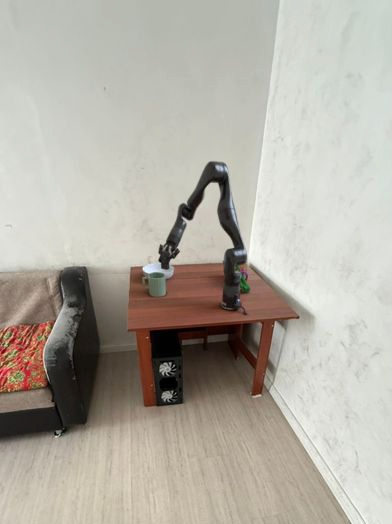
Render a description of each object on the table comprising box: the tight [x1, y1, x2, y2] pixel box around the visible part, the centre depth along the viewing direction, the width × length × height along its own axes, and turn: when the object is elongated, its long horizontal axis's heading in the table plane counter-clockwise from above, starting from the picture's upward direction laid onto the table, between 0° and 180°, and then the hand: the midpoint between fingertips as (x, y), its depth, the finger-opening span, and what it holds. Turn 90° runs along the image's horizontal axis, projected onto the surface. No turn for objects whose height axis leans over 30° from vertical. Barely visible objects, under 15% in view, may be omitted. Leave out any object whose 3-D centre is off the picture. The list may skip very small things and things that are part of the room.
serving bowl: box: [142, 262, 175, 280], centre depth 196 cm, size 21×21×7 cm
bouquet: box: [222, 259, 251, 293], centre depth 189 cm, size 20×16×30 cm
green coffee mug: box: [142, 272, 167, 298], centre depth 176 cm, size 14×10×12 cm
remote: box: [159, 251, 170, 270], centre depth 170 cm, size 3×4×10 cm, turn 57°
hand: (162, 262), depth 169 cm, fingers closed on remote, 4 cm apart
